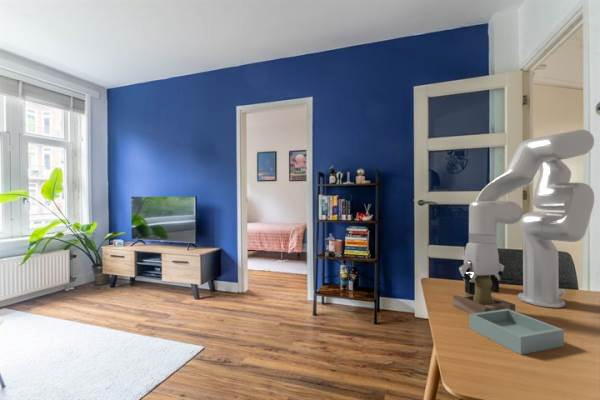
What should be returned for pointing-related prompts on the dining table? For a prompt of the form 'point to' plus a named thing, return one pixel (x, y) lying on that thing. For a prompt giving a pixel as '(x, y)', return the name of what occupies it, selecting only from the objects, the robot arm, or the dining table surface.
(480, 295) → the cork
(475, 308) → the socket
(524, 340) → the tray
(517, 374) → the dining table surface
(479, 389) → the dining table surface
